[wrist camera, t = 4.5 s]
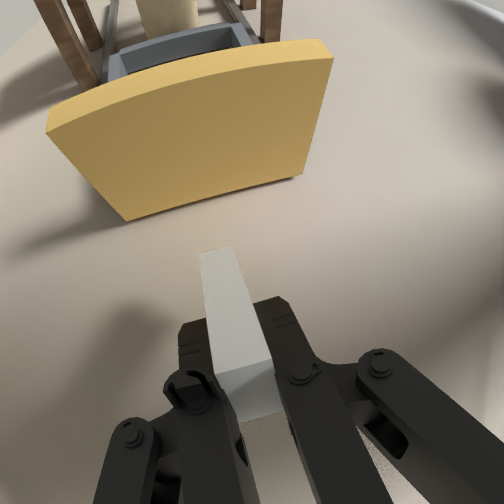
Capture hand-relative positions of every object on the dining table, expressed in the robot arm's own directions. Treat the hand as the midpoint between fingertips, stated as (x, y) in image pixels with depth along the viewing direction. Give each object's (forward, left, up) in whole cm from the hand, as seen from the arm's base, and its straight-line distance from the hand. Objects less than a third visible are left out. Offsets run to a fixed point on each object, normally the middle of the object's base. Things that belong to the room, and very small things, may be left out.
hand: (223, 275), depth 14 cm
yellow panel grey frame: (-1, -14, -5) cm, 15 cm away
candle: (-1, -26, -5) cm, 27 cm away
